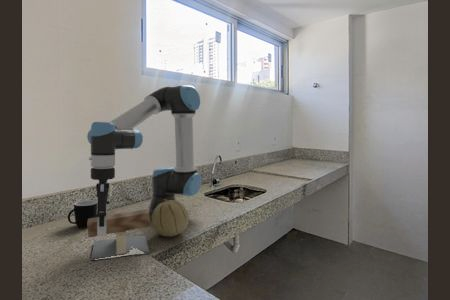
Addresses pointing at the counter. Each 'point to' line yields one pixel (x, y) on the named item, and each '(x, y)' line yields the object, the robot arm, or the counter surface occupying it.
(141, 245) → the fulcrum
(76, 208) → the mug
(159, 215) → the cantaloupe
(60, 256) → the counter surface
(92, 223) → the beam
